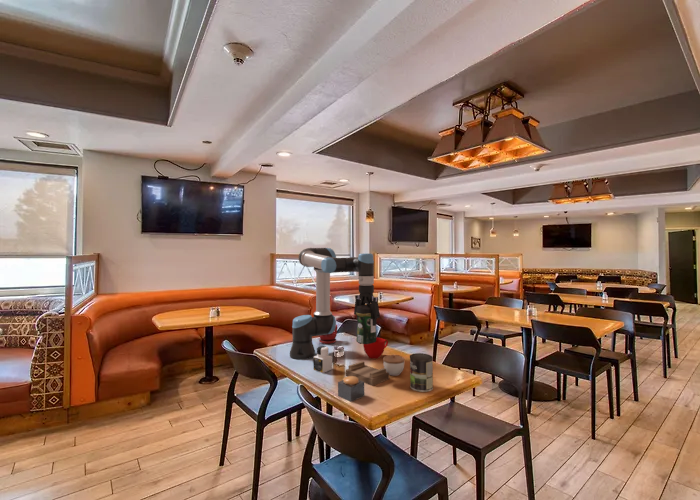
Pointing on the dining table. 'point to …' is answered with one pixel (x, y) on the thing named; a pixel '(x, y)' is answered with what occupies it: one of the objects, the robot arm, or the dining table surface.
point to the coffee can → (421, 372)
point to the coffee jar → (364, 325)
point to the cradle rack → (367, 373)
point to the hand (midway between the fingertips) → (366, 330)
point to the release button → (351, 380)
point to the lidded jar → (394, 364)
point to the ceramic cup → (375, 348)
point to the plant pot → (329, 337)
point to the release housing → (350, 390)
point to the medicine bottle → (322, 360)
